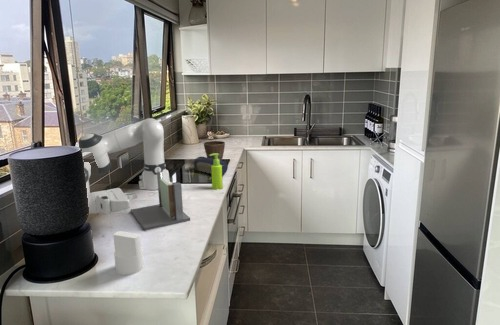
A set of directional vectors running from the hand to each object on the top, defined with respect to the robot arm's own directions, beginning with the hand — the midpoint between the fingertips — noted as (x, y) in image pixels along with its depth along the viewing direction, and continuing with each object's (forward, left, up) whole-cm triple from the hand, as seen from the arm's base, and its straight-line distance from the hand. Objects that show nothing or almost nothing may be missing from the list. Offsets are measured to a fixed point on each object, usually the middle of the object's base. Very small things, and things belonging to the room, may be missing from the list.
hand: (136, 195), depth 156 cm
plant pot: (-77, +73, -13) cm, 107 cm away
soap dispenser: (-26, +50, -13) cm, 57 cm away
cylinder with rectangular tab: (+38, -12, -13) cm, 42 cm away
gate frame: (-2, +10, -12) cm, 16 cm away
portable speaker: (-58, +61, -13) cm, 85 cm away
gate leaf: (-1, +14, -11) cm, 17 cm away
